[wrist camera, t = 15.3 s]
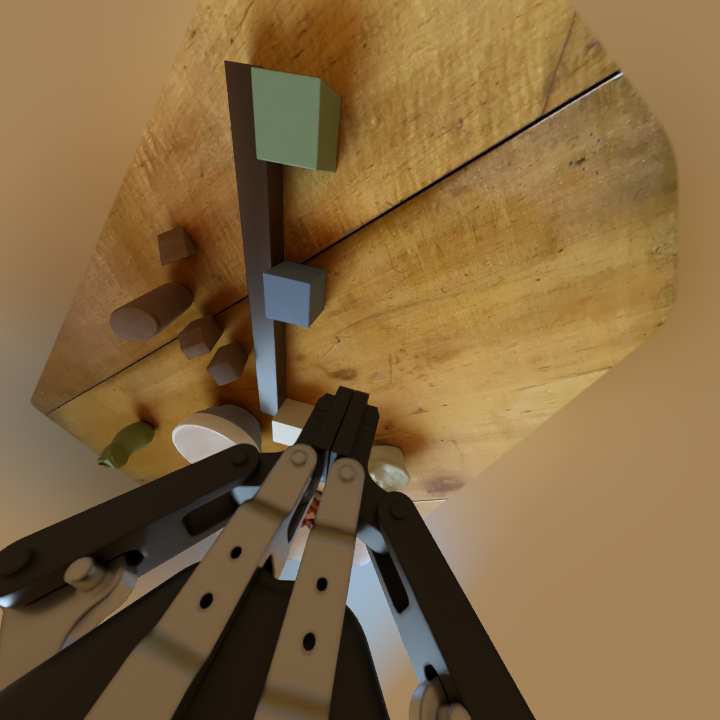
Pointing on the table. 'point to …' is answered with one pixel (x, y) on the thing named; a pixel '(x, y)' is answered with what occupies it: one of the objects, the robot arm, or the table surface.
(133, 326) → the wooden block set
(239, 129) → the straightedge
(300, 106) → the green block
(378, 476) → the bone
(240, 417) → the bowl
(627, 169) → the table surface
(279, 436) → the cream block
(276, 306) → the blue block
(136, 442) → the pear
